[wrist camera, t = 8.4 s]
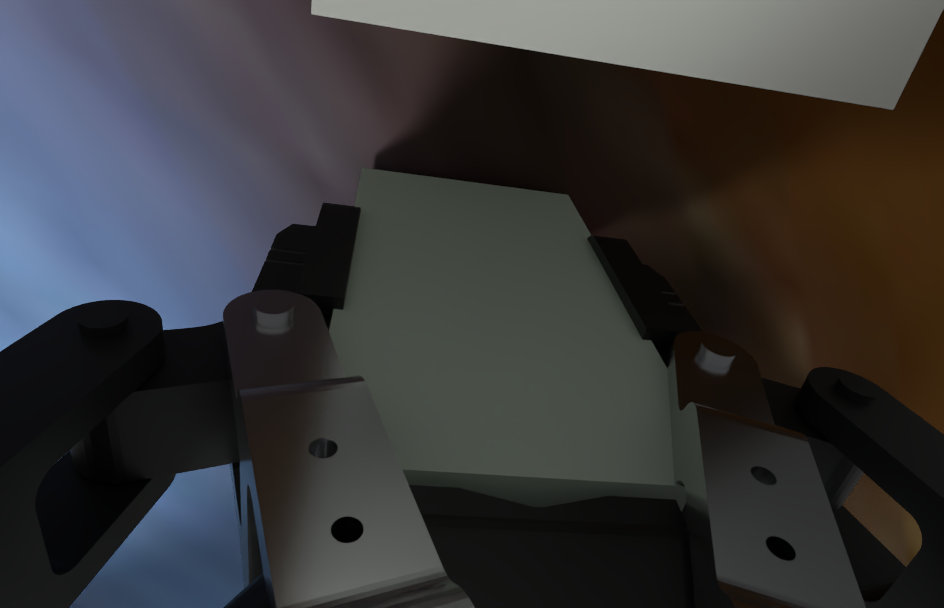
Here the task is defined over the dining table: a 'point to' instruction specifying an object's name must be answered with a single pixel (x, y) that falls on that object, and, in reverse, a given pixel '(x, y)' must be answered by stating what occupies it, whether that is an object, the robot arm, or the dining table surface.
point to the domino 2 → (500, 346)
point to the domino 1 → (695, 37)
